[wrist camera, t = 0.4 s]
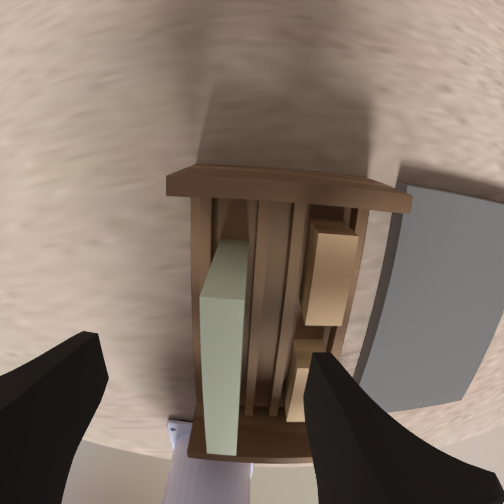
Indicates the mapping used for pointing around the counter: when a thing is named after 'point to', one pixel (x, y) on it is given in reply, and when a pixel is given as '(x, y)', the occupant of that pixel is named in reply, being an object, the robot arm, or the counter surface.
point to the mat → (434, 300)
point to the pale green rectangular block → (223, 343)
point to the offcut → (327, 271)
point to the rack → (270, 284)
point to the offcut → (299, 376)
